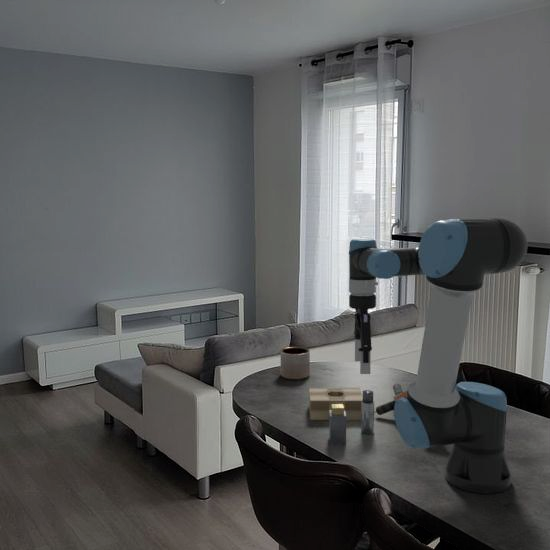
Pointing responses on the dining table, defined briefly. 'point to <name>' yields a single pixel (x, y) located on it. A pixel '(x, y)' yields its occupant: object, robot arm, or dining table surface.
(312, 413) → the bore block
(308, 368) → the planter
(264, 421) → the dining table surface
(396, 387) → the tool
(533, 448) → the dining table surface
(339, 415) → the square bit
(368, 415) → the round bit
